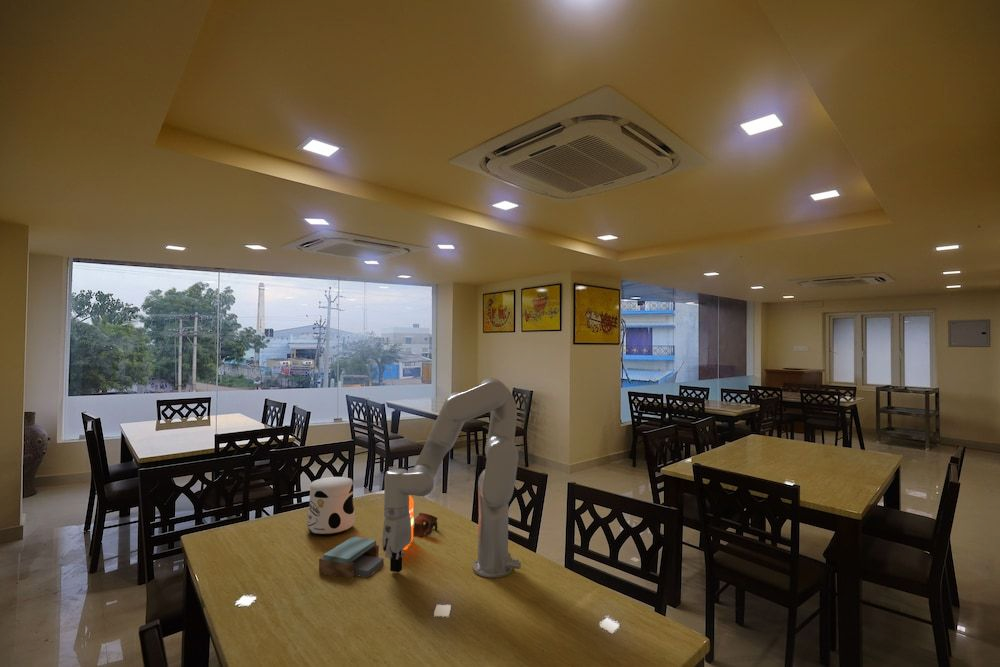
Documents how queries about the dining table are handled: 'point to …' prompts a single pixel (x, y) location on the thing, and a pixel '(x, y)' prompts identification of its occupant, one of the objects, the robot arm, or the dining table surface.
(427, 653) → the dining table surface
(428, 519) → the pottery mug
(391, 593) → the dining table surface
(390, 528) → the robot arm
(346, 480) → the milk container
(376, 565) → the slate tile
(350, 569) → the shelf dock
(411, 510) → the orange juice
